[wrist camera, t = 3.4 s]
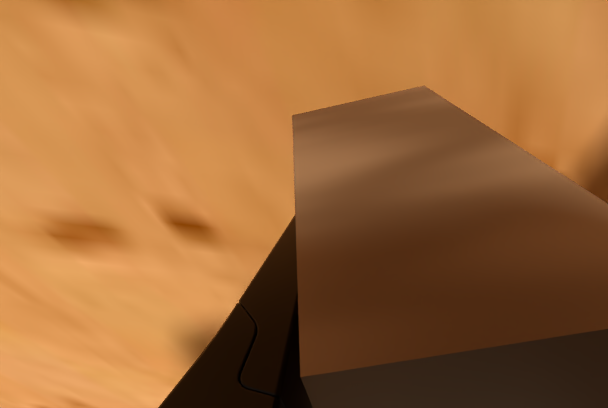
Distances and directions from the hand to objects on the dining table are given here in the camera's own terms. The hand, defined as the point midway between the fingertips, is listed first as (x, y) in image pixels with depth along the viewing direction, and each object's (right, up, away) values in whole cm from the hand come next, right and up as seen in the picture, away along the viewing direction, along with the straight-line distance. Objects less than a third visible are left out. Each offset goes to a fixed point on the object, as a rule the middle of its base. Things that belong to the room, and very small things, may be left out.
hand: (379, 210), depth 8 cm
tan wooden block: (0, +1, +1) cm, 2 cm away
